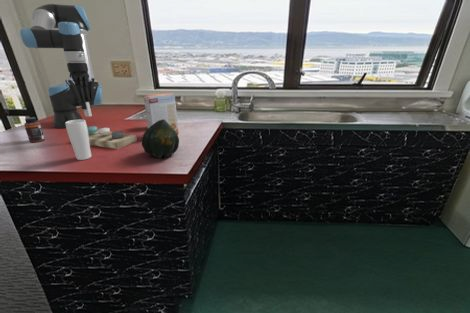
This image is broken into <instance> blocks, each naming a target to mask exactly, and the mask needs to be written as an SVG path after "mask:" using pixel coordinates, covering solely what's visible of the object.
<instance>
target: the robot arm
mask: <svg viewBox="0 0 470 313" xmlns="http://www.w3.org/2000/svg"><path fill="white" fill-rule="evenodd" d="M31 18H32V23H31V25H30V28H29V27H25V28H20V31H19V33H20V37H21V41H22V43H23V45H24V46H25V47H26V48H29V49H31V48H32V49H63V54H64V57H65V62H66V66H67V71H68V72H69V78H68V79H65V81H64V82H65V83H61V84H55V85H51V86H49V87H48V88H47V92H48V97H49V99H50V100H49V101H50V102H51V107H52V110H53V120H52V121H53V122H52V124H53V127H54V128H55V129H66V124H65V122H67V121H70V120H79V119H82V120H84V118H82V116H81V114H80V112H79V111H78V107H81V109H82V110H83V113H84V117H92V116H93V115H92V106H99V105H102V103H103V90H102V89H103V88H102V85H101V84H99V81H98V80H96V79H95V74H94V69H93V65H92V59H91V55H90V50H89V44H88V40H87V36H88V34H89V31H90V30H91V26H90V22H89V19H88V16H87V14H86V10H85V9H84V7H82V6H80V5H74V4H73V5H71V4H69V5H68V4H57V3H56V4H55V3H46V4H43V5H39V6H38V7H37V8H35V9H34V10H33V12H32V15H31Z"/></svg>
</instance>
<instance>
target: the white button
mask: <svg viewBox="0 0 470 313" xmlns="http://www.w3.org/2000/svg"><path fill="white" fill-rule="evenodd" d="M97 129H98V133H99V135H106V134H110V132H111V130H110V127H103V128H102V127H101V128H97Z"/></svg>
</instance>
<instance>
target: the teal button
mask: <svg viewBox="0 0 470 313" xmlns="http://www.w3.org/2000/svg"><path fill="white" fill-rule="evenodd" d="M87 129H88V133H95V132H97V131H98V129H99V128H98V126H94V125H93V126H92V125H91V126H90V125H89V126H87Z"/></svg>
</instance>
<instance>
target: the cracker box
mask: <svg viewBox="0 0 470 313" xmlns="http://www.w3.org/2000/svg"><path fill="white" fill-rule="evenodd" d="M143 103H144V110H145V115H146V123H147V129H148V128H149V127H150V126H152V125H153V124H154V123H156V122H157V121H159V120H163V119H164V120H165V121H166V122H167V123H168V124H169V125H170V126H171V127H172V128H173V129H174V130H175V131H176V133H177V135H179V127H178V126H179V123H178V115H177V114H178V113H177V107H176V96H175V93H172V92H167V93H158V94H157V93H156V94H147V95H143Z"/></svg>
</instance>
